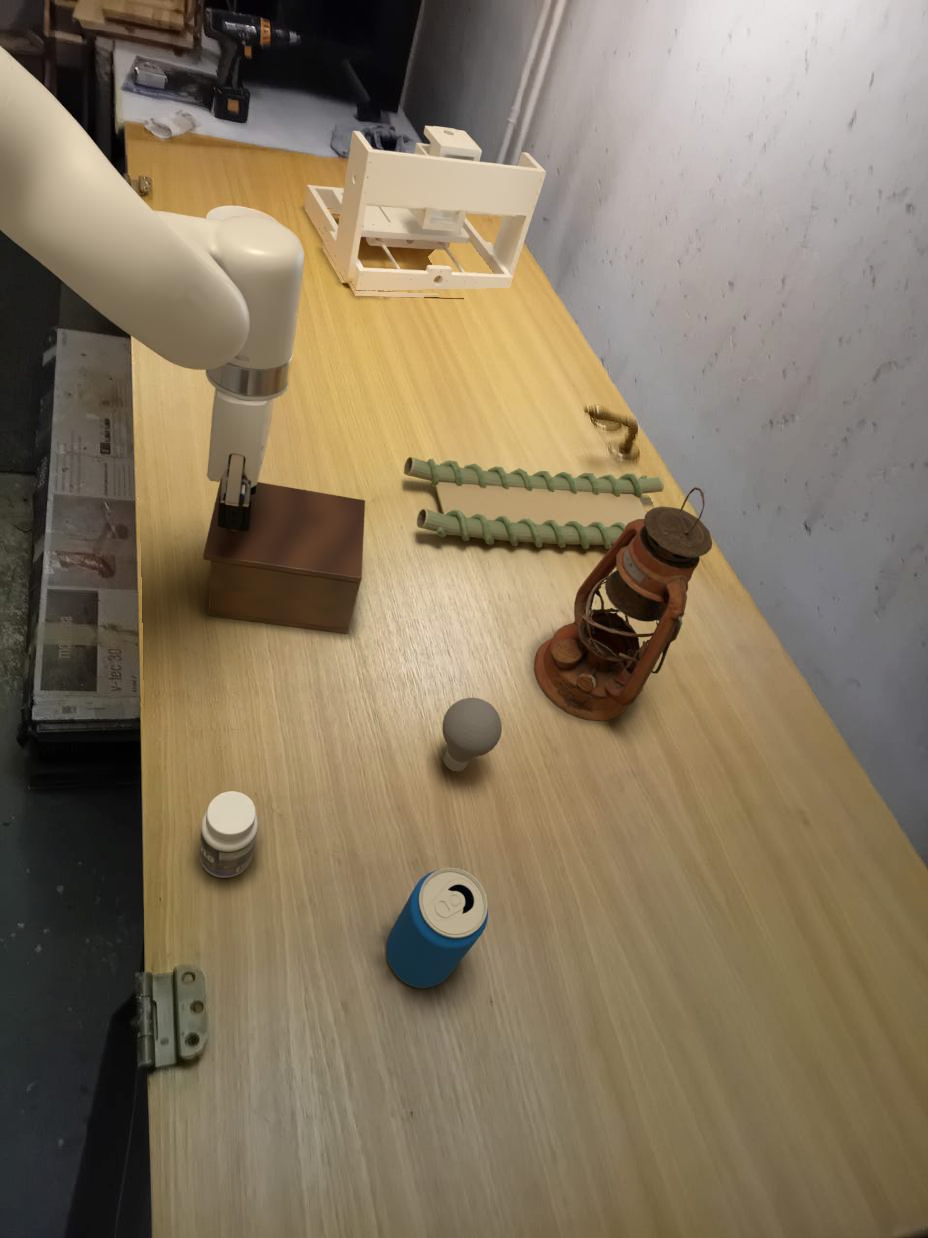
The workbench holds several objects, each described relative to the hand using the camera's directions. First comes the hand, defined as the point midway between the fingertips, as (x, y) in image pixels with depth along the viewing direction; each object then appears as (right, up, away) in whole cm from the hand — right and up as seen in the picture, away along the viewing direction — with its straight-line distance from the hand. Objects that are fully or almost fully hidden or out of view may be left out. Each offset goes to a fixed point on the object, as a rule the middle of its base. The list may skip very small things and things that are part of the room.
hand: (237, 507), depth 88 cm
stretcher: (+36, +2, +30) cm, 47 cm away
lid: (+5, -2, +3) cm, 6 cm away
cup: (-12, +41, +47) cm, 63 cm away
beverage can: (+20, -42, -14) cm, 49 cm away
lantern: (+39, -19, +13) cm, 45 cm away
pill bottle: (+3, -34, -13) cm, 36 cm away
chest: (+3, -8, +9) cm, 13 cm away
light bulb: (+23, -27, 0) cm, 36 cm away
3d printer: (+13, +59, +72) cm, 94 cm away
